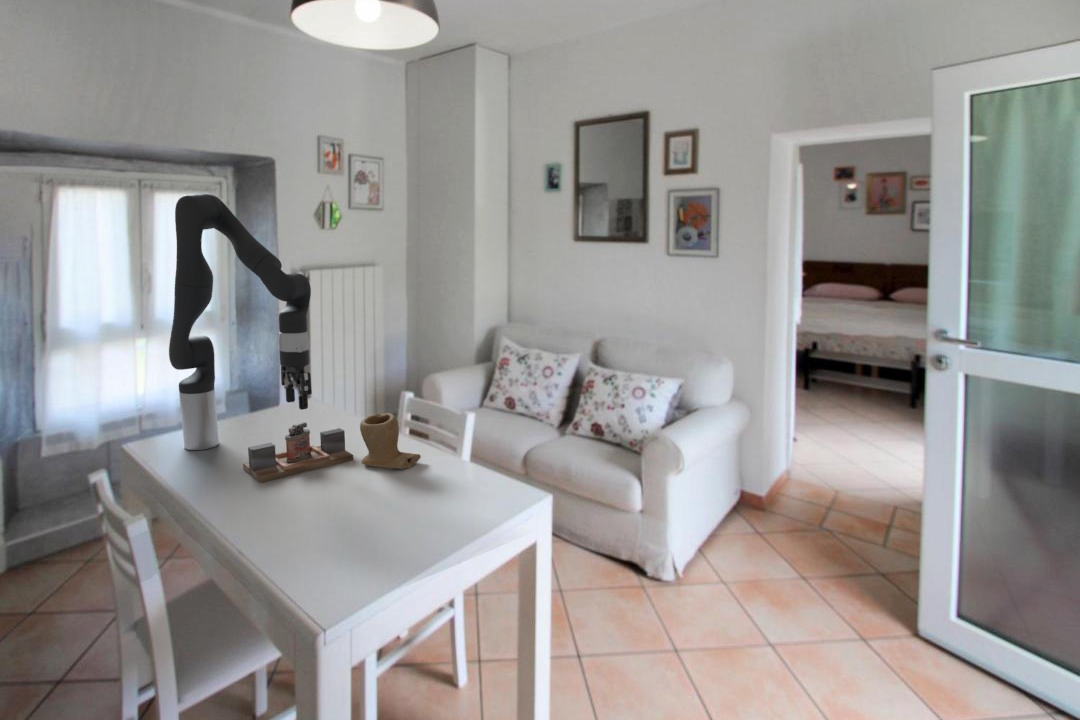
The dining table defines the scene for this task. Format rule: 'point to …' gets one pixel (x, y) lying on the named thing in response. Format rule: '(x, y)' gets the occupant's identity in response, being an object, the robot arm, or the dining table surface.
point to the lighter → (298, 443)
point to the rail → (275, 466)
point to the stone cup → (384, 443)
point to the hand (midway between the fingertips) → (297, 405)
